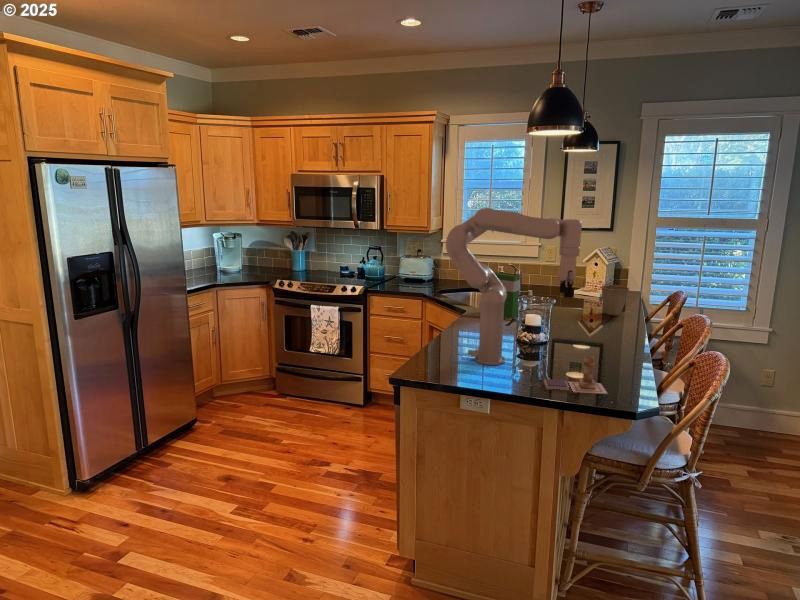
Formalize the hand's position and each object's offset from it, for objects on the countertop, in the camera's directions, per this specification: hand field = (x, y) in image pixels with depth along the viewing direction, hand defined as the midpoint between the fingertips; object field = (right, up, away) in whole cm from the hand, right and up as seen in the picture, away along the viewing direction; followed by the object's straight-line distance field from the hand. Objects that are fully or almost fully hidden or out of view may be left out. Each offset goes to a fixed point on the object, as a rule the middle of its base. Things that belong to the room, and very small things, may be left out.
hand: (566, 295), depth 207 cm
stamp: (+3, -34, -15) cm, 37 cm away
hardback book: (-7, -11, +96) cm, 97 cm away
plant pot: (+59, -10, +101) cm, 117 cm away
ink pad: (-8, -34, -13) cm, 37 cm away
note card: (+3, -34, -15) cm, 37 cm away
